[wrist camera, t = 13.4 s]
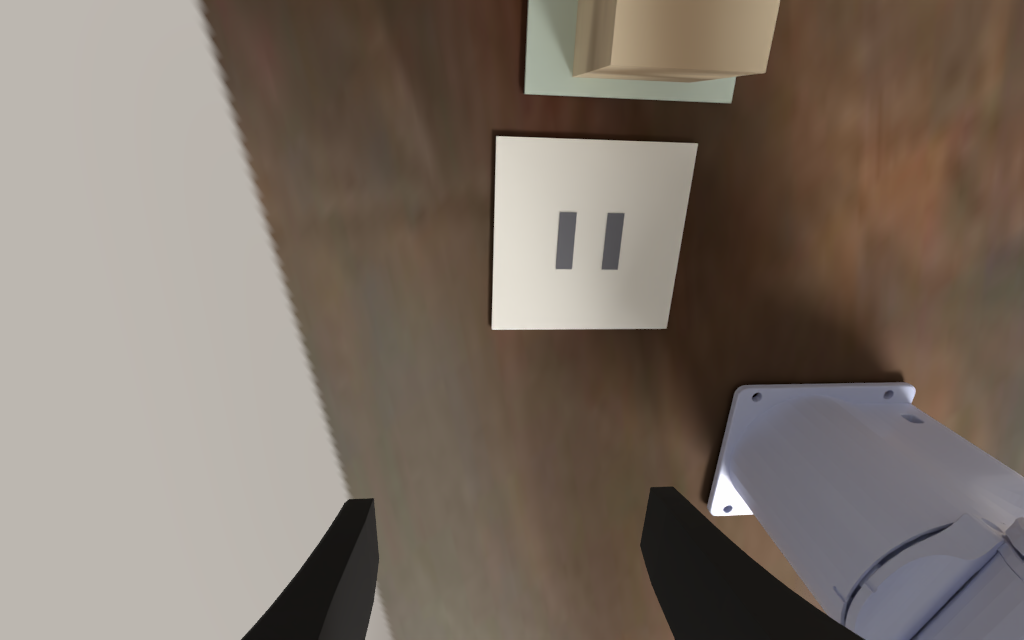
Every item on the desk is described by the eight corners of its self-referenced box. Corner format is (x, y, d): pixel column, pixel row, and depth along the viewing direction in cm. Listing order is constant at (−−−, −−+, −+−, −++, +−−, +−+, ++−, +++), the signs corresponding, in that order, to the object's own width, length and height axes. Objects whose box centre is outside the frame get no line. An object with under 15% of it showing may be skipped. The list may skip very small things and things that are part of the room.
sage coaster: (762, -87, 17) (767, -91, 17) (727, 103, 19) (731, 102, 19) (532, -108, 16) (533, -111, 16) (523, 94, 19) (524, 94, 18)
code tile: (696, 143, 20) (698, 143, 20) (664, 327, 23) (666, 329, 23) (496, 136, 19) (496, 136, 19) (491, 327, 22) (491, 330, 22)
